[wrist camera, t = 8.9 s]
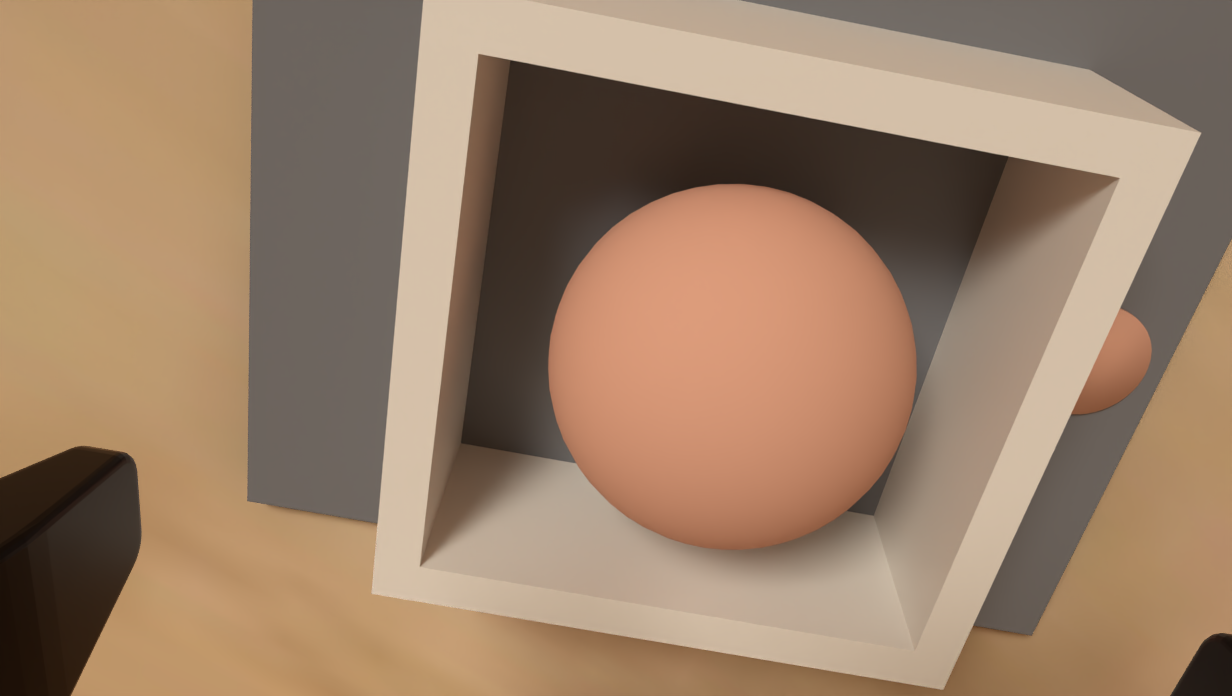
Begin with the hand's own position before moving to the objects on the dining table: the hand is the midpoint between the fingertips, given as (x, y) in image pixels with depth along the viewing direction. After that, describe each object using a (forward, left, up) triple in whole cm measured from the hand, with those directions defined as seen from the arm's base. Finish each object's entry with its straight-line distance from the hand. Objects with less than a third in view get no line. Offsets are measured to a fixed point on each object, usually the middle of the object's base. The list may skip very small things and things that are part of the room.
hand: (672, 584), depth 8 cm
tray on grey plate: (-1, +2, -12) cm, 12 cm away
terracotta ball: (-1, +2, -8) cm, 9 cm away
